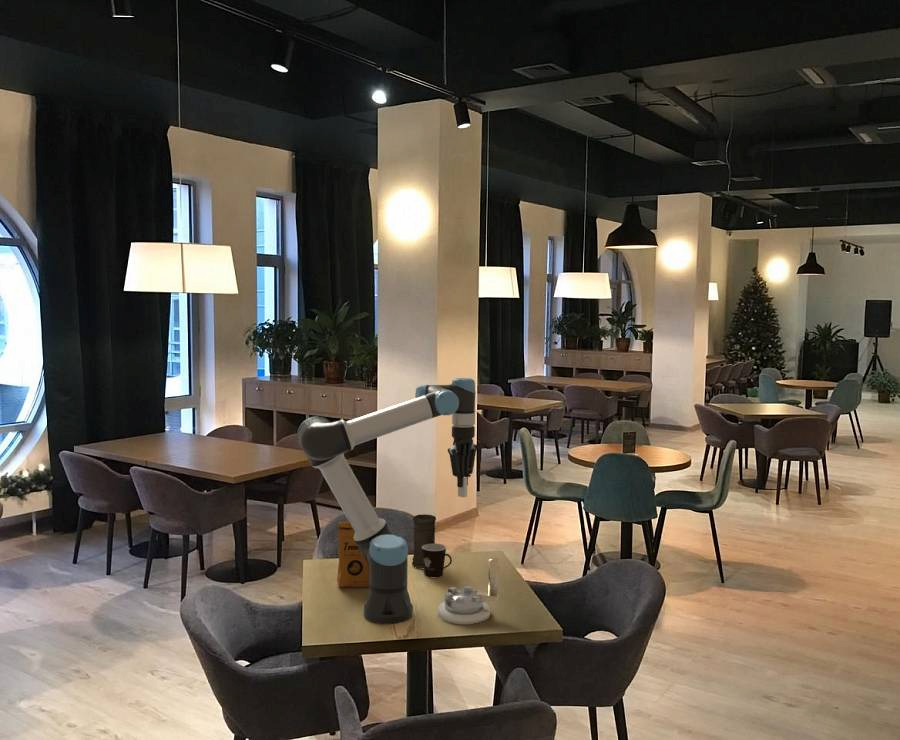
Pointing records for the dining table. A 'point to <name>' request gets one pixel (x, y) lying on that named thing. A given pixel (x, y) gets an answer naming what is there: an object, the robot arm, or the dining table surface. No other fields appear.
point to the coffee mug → (434, 559)
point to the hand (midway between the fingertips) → (462, 496)
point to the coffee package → (351, 560)
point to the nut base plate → (463, 618)
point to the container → (422, 536)
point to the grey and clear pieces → (473, 594)
